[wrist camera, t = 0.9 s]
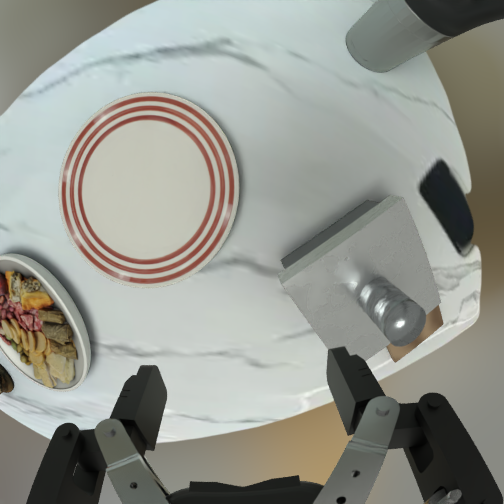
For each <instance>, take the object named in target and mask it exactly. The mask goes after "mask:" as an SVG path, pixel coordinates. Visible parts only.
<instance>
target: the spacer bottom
mask: <svg viewBox="0 0 504 504" xmlns="http://www.w3.org/2000/svg"><path fill="white" fill-rule="evenodd" d="M396 290H397V291H401V290H400V289H399V288H397V287H396V286H395V285H394V284H392V283H391V282H390V281H388V280H387V279H385V278H376V279H374V280H372V281H370V282H369V283H368V284H367V285H366V286H365V287H364V288H363V290H362V292H361V294H360V306H361V308H362V309H363V311H364V312H365V313H366V314H367V315H368V316H369V318H370V319H371V320H372V321H373V311H374V308H375V306H376V304H377V303H378V301H379V300H380V299H381V298H382V297H383V296H384V295H385V294H387V293H389V292H391V291H396ZM403 293H404V292H403ZM373 322H374V321H373ZM374 324H375V323H374Z"/></svg>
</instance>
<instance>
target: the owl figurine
mask: <svg viewBox="0 0 504 504" xmlns="http://www.w3.org/2000/svg"><path fill="white" fill-rule="evenodd" d="M13 388H14V383H13V381H12V378H11V377H10V376H9V375H8V373H7V372H6V370H5V369H4V367H3V366H2V365H1V364H0V394H1V393H3V392H6V393H7V392H11V391H12V390H13Z"/></svg>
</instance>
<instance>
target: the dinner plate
mask: <svg viewBox="0 0 504 504" xmlns="http://www.w3.org/2000/svg"><path fill="white" fill-rule="evenodd" d="M58 195H59V207H60V213H61V218H62V221H63V224H64V227H65V230H66V233H67V235H68V237H69V239H70V241H71V243H72V245H73V246H74V248H75V249H76V250H77V252H78V253H79V254H80V256H81V257H82V258H83V259H84V260H85V261H86V263H87V264H89V265H90V266H91V267H92V268H93V269H94V270H95V271H97V272H98V273H100V274H101V275H103V276H104V277H106V278H108V279H110V280H112V281H114V282H117V283H119V284H122V285H126V286H130V287H136V288H158V287H164V286H168V285H172V284H175V283H177V282H180V281H182V280H184V279H186V278H188V277H190V276H192V275H193V274H195V273H196V272H198V271H199V270H200V269H202V268H203V267H204V266H205V265H206V264H207V263H209V262H210V261H211V260H212V258H213V257H214V256H215V255H216V254H217V252H218V251H219V250H220V248H221V247H222V245H223V244H224V242H225V240H226V238H227V236H228V234H229V232H230V230H231V228H232V225H233V222H234V219H235V216H236V212H237V207H238V201H239V174H238V168H237V163H236V160H235V156H234V153H233V150H232V148H231V145H230V143H229V141H228V139H227V138H226V136H225V134H224V132H223V131H222V130H221V128H220V127H219V125H218V124H217V123H216V122H215V121H214V119H213V118H212V117H211V116H209V115H208V114H207V113H206V112H205V111H204V110H202V109H201V108H200V107H198V106H197V105H195V104H193V103H192V102H190V101H188V100H185V99H183V98H181V97H178V96H175V95H171V94H166V93H158V92H144V93H137V94H132V95H129V96H125V97H122V98H120V99H117V100H115V101H113V102H111V103H109V104H107V105H106V106H104V107H103V108H101V109H100V110H98V111H97V112H96V113H95V114H94V115H92V116H91V117H90V118H89V119H88V120H87V121H86V122H85V123H84V125H83V126H82V127H81V128H80V130H79V131H78V132H77V134H76V135H75V137H74V139H73V140H72V142H71V144H70V146H69V148H68V150H67V152H66V155H65V157H64V160H63V164H62V168H61V172H60V178H59V194H58Z"/></svg>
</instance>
